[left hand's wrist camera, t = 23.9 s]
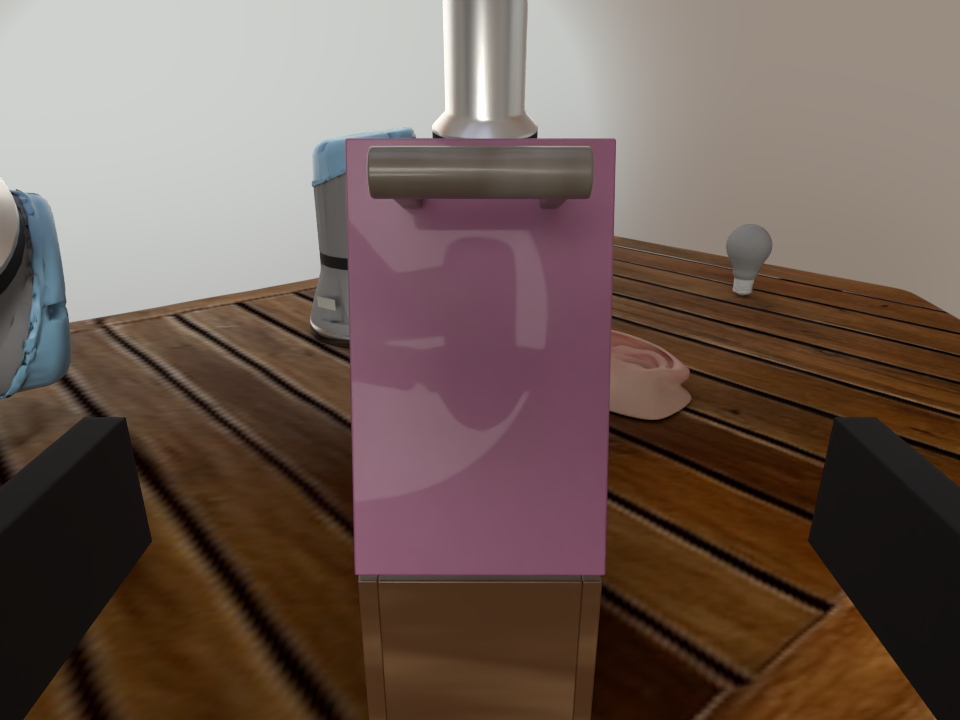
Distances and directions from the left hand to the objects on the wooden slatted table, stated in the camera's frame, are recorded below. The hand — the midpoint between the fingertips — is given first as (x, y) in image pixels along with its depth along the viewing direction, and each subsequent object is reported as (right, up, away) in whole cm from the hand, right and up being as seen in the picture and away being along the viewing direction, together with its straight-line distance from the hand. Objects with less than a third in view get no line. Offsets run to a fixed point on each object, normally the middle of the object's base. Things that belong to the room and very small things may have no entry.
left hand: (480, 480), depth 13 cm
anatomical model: (+15, -1, +55) cm, 57 cm away
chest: (0, -12, +26) cm, 29 cm away
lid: (0, +2, +14) cm, 14 cm away
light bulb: (+38, +11, +85) cm, 94 cm away
